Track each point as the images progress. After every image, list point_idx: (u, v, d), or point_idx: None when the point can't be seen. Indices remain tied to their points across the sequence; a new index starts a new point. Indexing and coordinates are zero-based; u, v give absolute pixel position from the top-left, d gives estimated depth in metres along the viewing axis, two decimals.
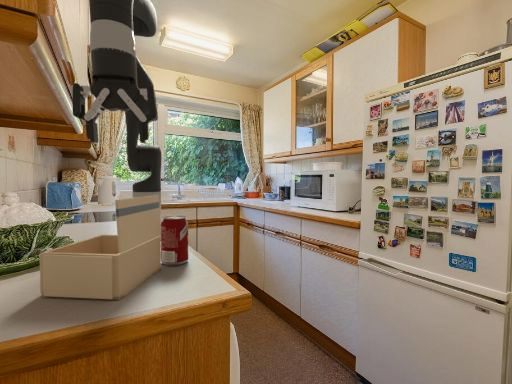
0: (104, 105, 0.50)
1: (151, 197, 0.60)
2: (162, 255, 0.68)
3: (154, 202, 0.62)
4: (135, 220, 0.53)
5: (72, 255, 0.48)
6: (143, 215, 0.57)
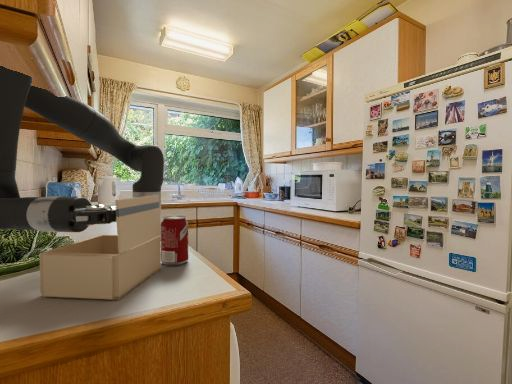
0: None
1: (151, 197, 0.60)
2: (162, 255, 0.68)
3: (154, 202, 0.62)
4: (135, 220, 0.53)
5: (72, 255, 0.48)
6: (143, 215, 0.57)
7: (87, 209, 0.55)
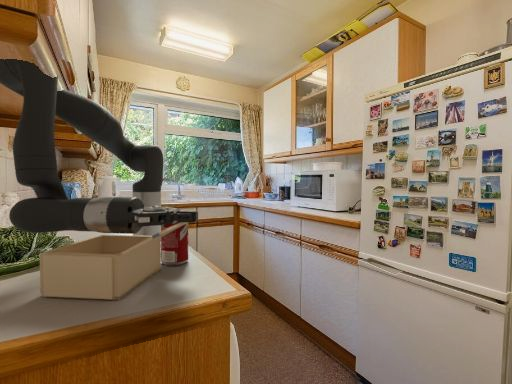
0: None
1: None
2: (162, 255, 0.68)
3: None
4: (159, 236, 0.53)
5: (72, 255, 0.48)
6: (168, 231, 0.56)
7: (145, 210, 0.54)
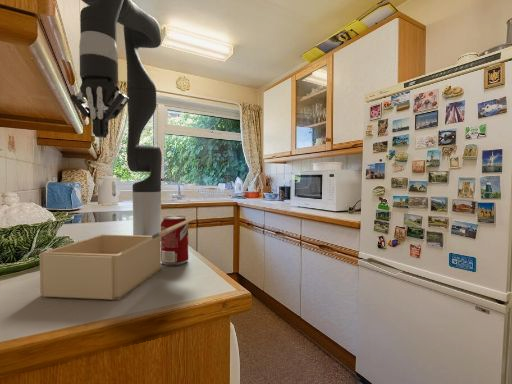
0: (96, 100, 0.61)
1: (189, 221, 0.60)
2: (162, 255, 0.68)
3: None
4: (159, 236, 0.53)
5: (72, 255, 0.48)
6: (168, 231, 0.56)
7: None
